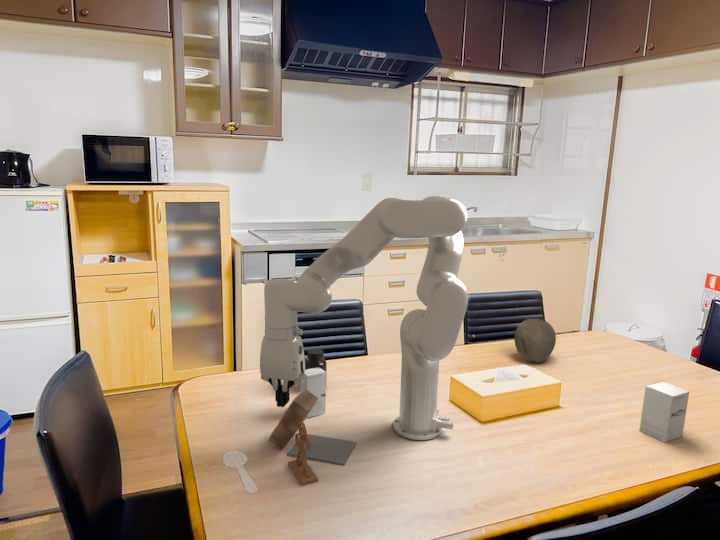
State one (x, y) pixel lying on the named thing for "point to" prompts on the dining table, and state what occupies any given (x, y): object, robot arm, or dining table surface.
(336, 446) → the rubber mat
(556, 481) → the dining table surface
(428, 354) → the robot arm
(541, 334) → the cantaloupe
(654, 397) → the supplement box
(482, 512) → the dining table surface
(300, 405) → the walnut box
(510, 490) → the dining table surface
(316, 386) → the skincare box
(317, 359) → the supplement bottle
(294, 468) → the wooden figurine
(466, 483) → the dining table surface
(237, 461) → the spoon
